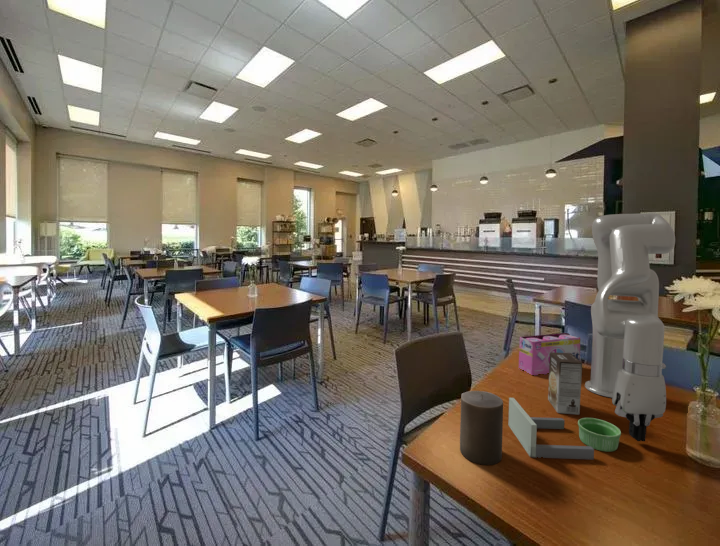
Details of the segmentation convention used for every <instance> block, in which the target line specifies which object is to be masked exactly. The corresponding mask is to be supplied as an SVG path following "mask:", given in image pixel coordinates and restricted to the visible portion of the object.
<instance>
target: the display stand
mask: <svg viewBox="0 0 720 546" xmlns="http://www.w3.org/2000/svg"><path fill="white" fill-rule="evenodd" d="M508 427H509V428H510V430H511V432H512V434H514V436H515V438H517V440H518V441H519V443H520V444H521V446H522V448H523V449H524V450H525V452H526V454H527V455H528V456H529V458H537V457H538V458H539V459H541V457H543V459H545V458H546V459H568V460H569V459H572V460H594V459H595V449H594V448H592V447H591V446H587V445H562V444H561V445H559V444H557V445H556V444H537V433H538V432H537V430H538V429H545V430H547V429H548V430H551V429H552V430H553V429H554V430H564V429H565V419H564V418H563V417H538V416H537V417H534V416H530V415H529V414H528V413H527V412H526V410H524V408H523V407H522V406H521V404H520V403H519V402H518V401H517V400H516V399H515V397H508ZM538 458H537V459H538Z"/></svg>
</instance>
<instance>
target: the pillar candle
mask: <svg viewBox="0 0 720 546" xmlns="http://www.w3.org/2000/svg"><path fill="white" fill-rule="evenodd" d="M460 397H461V398H460V424H459V425H460V426H459V429H460V430H459V432H460V433H459V451H460V453H461V455H462V456H463V457H465V458H466V459H467V460H469V462H472V463H474V464H478V465H483V466H492V465H497V464H499V463H500V462H501V460H502V459H503V457H502V456H503V426H504V423H503V422H504V421H503V420H504V400H503V399H502V397H500V396H498V395H497V394H494V393H492V392H488V391H482V390H470V391H466V392H463V393H461V396H460Z"/></svg>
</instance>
